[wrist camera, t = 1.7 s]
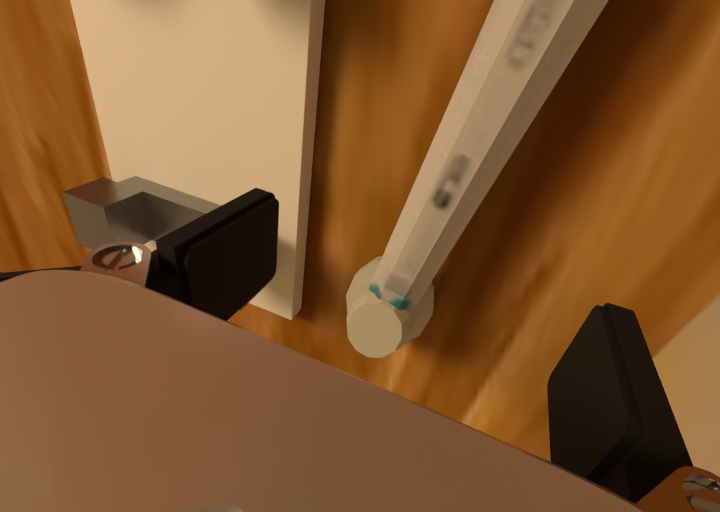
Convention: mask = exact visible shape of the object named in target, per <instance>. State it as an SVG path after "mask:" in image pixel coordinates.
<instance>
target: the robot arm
mask: <svg viewBox="0 0 720 512" xmlns="http://www.w3.org/2000/svg"><path fill="white" fill-rule="evenodd" d="M278 219H279V201H278V200H277V199H275V195H274V194H273V193H271V192H268V191H265V190H262V189H259V188H254V189H252V190H250V191H248V192H247V193H245V194H243V195H241V196H239V197H237V198H235V199H233V200H231V201H229V202H227V203H226V204H224V205H222V206H220V207H218V208H216V209H214V210H212V211H210V212H208V213H207V214H205V215H203V216H201V217H199V218H197V219H195V220H193V221H191V222H189V223H187V224H186V225H184V226H182V227H180V228H178V229H176V230H174V231H172V232H170V233H168V234H167V235H165V236H163V237H161V238H159V239H157V240H155V241H156V247H157V249H156V250H154V251H152V252H151V251H150V249H149V248H148V247H147V246H145V245H143V244H140V243H135V242H115V243H110V244H106V245H103V246H100V247H98V248H96V249H94V250H93V251H91V252H90V253H89V254H88V255H87V256H86V257H85V259H84V262H83V264H82V266H75V267H64V268H53V269H41V270H30V271H19V272H7V273H0V512H720V477H718V476H716V475H715V474H713V473H711V472H709V471H706V470H703V469H700V468H697V467H693V464H692V462H691V459H690V456H689V454H688V451H687V449H686V446H685V443H684V441H683V438H682V435H681V433H680V430H679V428H678V425H677V422H676V420H675V417H674V415H673V412H672V409H671V407H670V404H669V401H668V399H667V396H666V393H665V391H664V388H663V386H662V383H661V380H660V378H659V376H658V373H657V370H656V368H655V365H654V362H653V360H652V357H651V355H650V352H649V349H648V347H647V344H646V341H645V339H644V336H643V334H642V331H641V328H640V326H639V323H638V320H637V318H636V315H635V313H634V311H632V310H629V309H626V308H623V307H620V306H617V305H614V304H610V303H606V304H605V305H603V307H602V306H599V305H597V306H595V307H594V308H593V309H592V311H591V312H590V314H589V316H588V317H587V319H586V320H585V322H584V323H583V325H582V327H581V328H580V330H579V331H578V333H577V334H576V336H575V337H574V339H573V341H572V342H571V344H570V345H569V347H568V348H567V350H566V352H565V353H564V355H563V356H562V358H561V359H560V361H559V363H558V364H557V366H556V367H555V369H554V370H553V372H552V374H551V375H550V378H549V381H548V409H549V431H550V453H551V462H549V461H547V460H545V459H543V458H540V457H538V456H536V455H534V454H531V453H529V452H527V451H524V450H522V449H520V448H518V447H515V446H513V445H511V444H509V443H506V442H504V441H502V440H499V439H497V438H495V437H493V436H490V435H488V434H486V433H483V432H481V431H479V430H477V429H474V428H472V427H470V426H468V425H465V424H463V423H461V422H458V421H456V420H454V419H452V418H449V417H447V416H445V415H443V414H440V413H438V412H436V411H433V410H431V409H429V408H427V407H424V406H422V405H420V404H417V403H415V402H413V401H411V400H408V399H406V398H404V397H402V396H399V395H397V394H395V393H392V392H390V391H388V390H385V389H383V388H381V387H379V386H376V385H374V384H372V383H369V382H367V381H365V380H362V379H360V378H358V377H356V376H353V375H351V374H349V373H346V372H344V371H342V370H339V369H337V368H335V367H332V366H330V365H328V364H325V363H323V362H321V361H319V360H316V359H314V358H312V357H309V356H307V355H305V354H302V353H300V352H298V351H295V350H293V349H291V348H288V347H286V346H284V345H281V344H279V343H277V342H274V341H272V340H270V339H267V338H265V337H263V336H260V335H258V334H256V333H253V332H251V331H249V330H246V329H244V328H241V327H239V326H237V325H234V324H232V323H230V322H227V320H228V319H229V318H230V317H231V316H232V315H234V314H235V313H236V312H237V311H238V310H239V309H240V308H241V307H242V306H243V305H245V304H246V303H247V302H248V301H249V300H250V299H251V298H252V297H253V296H254V295H256V294H257V293H258V292H259V291H260V290H261V289H262V288H263V287H264V286H265V285H267V284H268V283H269V282H270V281H271V280H272V279H273V277H274V275H275V273H276V266H277V242H278Z"/></svg>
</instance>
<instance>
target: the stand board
mask: <svg viewBox="0 0 720 512" xmlns="http://www.w3.org/2000/svg"><path fill="white" fill-rule="evenodd" d="M70 1H71V5H72V9H73V14H74V18H75V22H76V26H77V31H78V35H79V39H80V44H81V48H82V52H83V56H84V61H85V65H86V69H87V73H88V78H89V82H90V86H91V90H92V95H93V99H94V103H95V107H96V112H97V116H98V120H99V125H100V129H101V133H102V137H103V142H104V146H105V150H106V154H107V159H108V163H109V167H110V171H111V176H112V180H113V181H115V182H120V181H123V180H125V179H128V178H131V177H133V176H138V177H140V178H143V179H146V180H149V181H152V182H155V183H158V184H161V185H164V186H167V187H169V188H172V189H175V190H178V191H181V192H184V193H187V194H190V195H193V196H195V197H198V198H201V199H204V200H207V201H210V202H213V203H216V204H219V205H224V204H226V203H227V202H229V201H231V200H233V199H235V198H237V197H239V196H241V195H243V194H245V193H247V192H248V191H250V190H252V189H254V188H259V189H262V190H265V191H268V192H271V193H273V194H274V195H275V199H277V200H278V201H279V219H278V242H277V266H276V273H275V275H274V277H273V279H272V280H271V281H270V282H269V283H268V284H267V285H266V286H265V287H264V288H263V289H262V290H261V291H260V292H259V293H258V294H257V295H256V296H255V297H254V298H253V299H252V300H251V301H250V302H249V303H251V304H253V305H255V306H258V307H260V308H263V309H265V310H268V311H270V312H273V313H275V314H278V315H280V316H282V317H285V318H287V319H290V320H292V319H293V318H294V317H295V315H296V314H297V313H298V312H299V311H300V309H301V303H302V291H303V278H304V265H305V252H306V240H307V227H308V214H309V201H310V188H311V176H312V163H313V150H314V137H315V125H316V112H317V99H318V86H319V73H320V61H321V48H322V35H323V22H324V9H325V0H70ZM144 245H145V246H147V247H148V248H149V249H150V251H151V252H152V251H154V250H156V249H157V247H156V241H153V240H151V241H149V242H147V243H146V244H144Z"/></svg>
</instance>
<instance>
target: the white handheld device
mask: <svg viewBox="0 0 720 512" xmlns="http://www.w3.org/2000/svg"><path fill="white" fill-rule="evenodd" d="M607 2H608V0H494V2H493V4H492V6H491V9H490V11H489V13H488V16H487V18H486V20H485V22H484V25H483V27H482V29H481V32H480V34H479V36H478V39H477V41H476V43H475V45H474V48H473V50H472V52H471V55H470V57H469V59H468V61H467V64H466V66H465V68H464V71H463V73H462V75H461V78H460V80H459V82H458V84H457V87H456V89H455V91H454V94H453V96H452V98H451V100H450V103H449V105H448V107H447V110H446V112H445V114H444V117H443V119H442V121H441V123H440V126H439V128H438V130H437V133H436V135H435V137H434V139H433V142H432V144H431V146H430V149H429V151H428V153H427V156H426V158H425V160H424V162H423V165H422V167H421V169H420V172H419V174H418V176H417V178H416V181H415V183H414V185H413V188H412V190H411V192H410V195H409V197H408V199H407V201H406V204H405V206H404V208H403V211H402V213H401V215H400V217H399V220H398V222H397V224H396V227H395V229H394V231H393V234H392V236H391V238H390V240H389V243H388V245H387V247H386V250H385V252H384V254H383V256H379V257H376V258H375V259H374V260H372V261H371V262H369V263H368V264H367V265H365V266H364V267H362V268H361V269H360V270H358V272H357V273H356V274H355V276H354V279H353V281H352V283H351V285H350V287H349V290H348V292H347V294H346V301H347V314H348V315H347V331H348V339H349V341H350V342H351V344H352V345H353V347H354V348H355V350H356V351H358V352H360V353H362V354H363V355H365V356H367V357H377V358H382V357H384V356H386V355H388V354H390V353H392V352H394V351H395V350H397V349H399V348H401V347H402V345H403V344H405V343H407V342H409V341H411V340H412V339H414V338H416V337H418V336H420V334H421V333H422V331H423V330H424V328H425V326H426V325H427V323H428V321H429V320H430V318H431V316H432V314H433V311H434V285H433V284H432V280H433V278H434V277H435V275H436V274H437V272H438V270H439V269H440V267H441V266H442V264H443V262H444V261H445V259H446V258H447V256H448V255H449V253H450V251H451V250H452V248H453V247H454V245H455V243H456V242H457V240H458V239H459V237H460V235H461V234H462V232H463V231H464V229H465V228H466V226H467V224H468V223H469V221H470V220H471V218H472V216H473V215H474V213H475V212H476V210H477V208H478V207H479V205H480V204H481V202H482V201H483V199H484V197H485V196H486V194H487V193H488V191H489V189H490V188H491V186H492V185H493V183H494V181H495V180H496V178H497V177H498V175H499V174H500V172H501V170H502V169H503V167H504V166H505V164H506V162H507V161H508V159H509V158H510V156H511V154H512V153H513V151H514V150H515V148H516V147H517V145H518V143H519V142H520V140H521V139H522V137H523V135H524V134H525V132H526V131H527V129H528V128H529V126H530V124H531V123H532V121H533V120H534V118H535V116H536V115H537V113H538V112H539V110H540V108H541V107H542V105H543V104H544V102H545V101H546V99H547V97H548V96H549V94H550V93H551V91H552V89H553V88H554V86H555V85H556V83H557V81H558V80H559V78H560V77H561V75H562V74H563V72H564V70H565V69H566V67H567V66H568V64H569V62H570V61H571V59H572V58H573V56H574V54H575V53H576V51H577V50H578V48H579V47H580V45H581V43H582V42H583V40H584V39H585V37H586V35H587V34H588V32H589V31H590V29H591V27H592V26H593V24H594V23H595V21H596V20H597V18H598V16H599V15H600V13H601V12H602V10H603V8H604V7H605V5H606V4H607Z"/></svg>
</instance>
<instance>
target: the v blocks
mask: <svg viewBox="0 0 720 512" xmlns="http://www.w3.org/2000/svg"><path fill="white" fill-rule="evenodd" d="M62 193H63V196H64V199H65V202H66V206H67V209H68V212H69V215H70V218H71V221H72V224H73V227H74V231H75V234H76V237H77V240H78V243H79V244H81V245H83V246H86V247H88V248H91V249H93V250H94V249H96V248H98V247H100V246H103V245H106V244H110V243H115V242H135V243H140V244H143V245H144V244H146V243H147V242H149V241H151V240H153V241H155V240H157V239H159V238H161V237H163V236H165V235H167V234H168V233H170V232H172V231H174V230H176V229H178V228H180V227H182V226H184V225H186V224H187V223H189V222H191V221H193V220H195V219H197V218H199V217H201V216H203V215H205V214H207V213H208V212H210V211H212V210H214V209H216V208H218V207H220V206H222V205H219V204H216V203H213V202H210V201H207V200H204V199H201V198H198V197H195V196H193V195H190V194H187V193H184V192H181V191H178V190H175V189H172V188H169V187H167V186H164V185H161V184H158V183H155V182H152V181H149V180H146V179H143V178H140V177H138V176H133V177H131V178H128V179H125V180H123V181H120V182H115V181H112V180H110V179H107V178H101V179H98V180H95V181H92V182H90V183H87V184H84V185H81V186H78V187H75V188H72V189H69V190H66V191H63V192H62ZM265 286H266V285H265ZM265 286H264V287H265ZM264 287H263V288H264ZM263 288H262V289H263ZM262 289H261V290H262ZM261 290H260V291H261ZM260 291H259V292H260ZM259 292H258V293H259ZM258 293H257V294H258ZM257 294H256V295H257ZM256 295H254V296H253V297H252V298H251V299H250V300H249V301H248V302H247V303H246V304H245V305H243V306H242V307H241V308H240V309H239V311H240V310H241V309H242V308H243V307H245V306H246V305H247V304H248V303H249V302H250V301H251V300H252V299H253V298H254V297H255V296H256Z"/></svg>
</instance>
